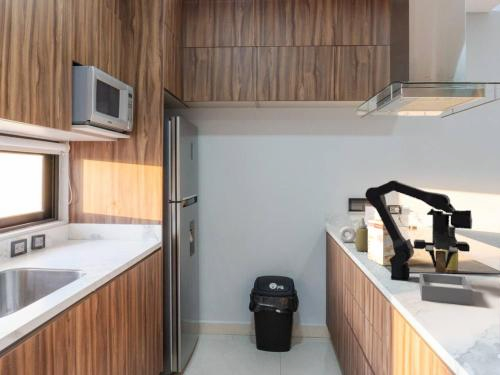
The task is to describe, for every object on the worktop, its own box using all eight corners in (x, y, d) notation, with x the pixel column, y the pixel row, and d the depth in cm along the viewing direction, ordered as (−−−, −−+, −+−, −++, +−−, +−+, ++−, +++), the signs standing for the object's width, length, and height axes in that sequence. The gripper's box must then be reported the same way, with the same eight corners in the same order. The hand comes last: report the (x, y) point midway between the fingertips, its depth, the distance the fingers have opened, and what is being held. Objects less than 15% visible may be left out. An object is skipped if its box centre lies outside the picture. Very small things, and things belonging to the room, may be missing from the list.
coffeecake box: (396, 265, 178) (396, 223, 177) (382, 265, 177) (382, 223, 176) (380, 258, 193) (380, 219, 192) (367, 258, 191) (367, 219, 191)
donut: (355, 242, 236) (355, 226, 235) (355, 243, 233) (355, 226, 232) (339, 241, 238) (339, 225, 238) (339, 242, 235) (338, 226, 235)
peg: (435, 272, 146) (435, 251, 146) (435, 270, 149) (435, 250, 149) (446, 273, 145) (446, 252, 145) (445, 271, 148) (445, 250, 148)
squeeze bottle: (354, 251, 208) (354, 218, 207) (355, 249, 216) (355, 217, 215) (369, 252, 205) (369, 219, 204) (370, 249, 213) (370, 217, 212)
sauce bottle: (443, 269, 169) (444, 224, 168) (459, 271, 165) (460, 225, 164) (439, 272, 164) (440, 226, 163) (456, 274, 160) (456, 227, 159)
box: (421, 300, 129) (421, 285, 129) (419, 286, 145) (419, 272, 145) (472, 305, 124) (472, 290, 124) (464, 290, 140) (464, 276, 139)
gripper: (414, 229, 142) (414, 270, 143) (472, 231, 136) (472, 275, 136) (413, 225, 153) (413, 264, 153) (467, 227, 146) (466, 267, 147)
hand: (440, 267), depth 147 cm, fingers closed on peg, 3 cm apart
